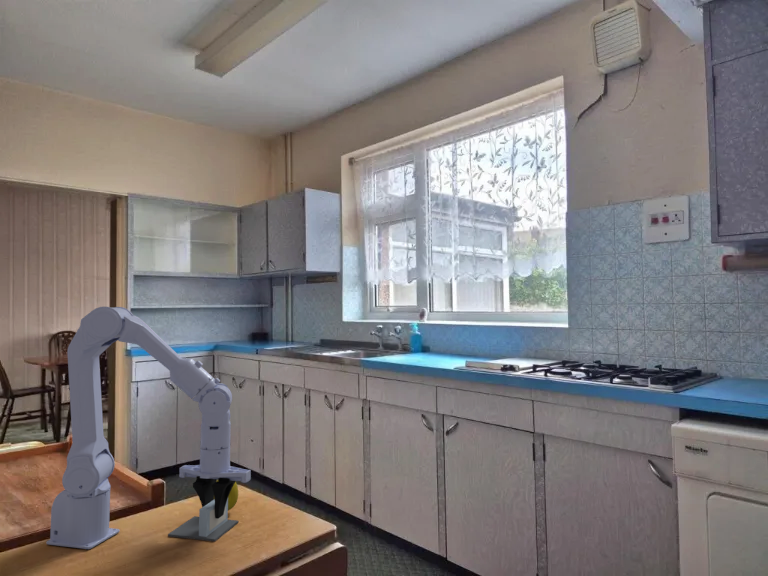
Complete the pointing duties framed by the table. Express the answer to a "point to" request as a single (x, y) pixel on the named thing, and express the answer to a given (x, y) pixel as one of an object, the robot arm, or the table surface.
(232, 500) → the lemon
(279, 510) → the table surface
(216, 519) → the plaque
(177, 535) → the mat
